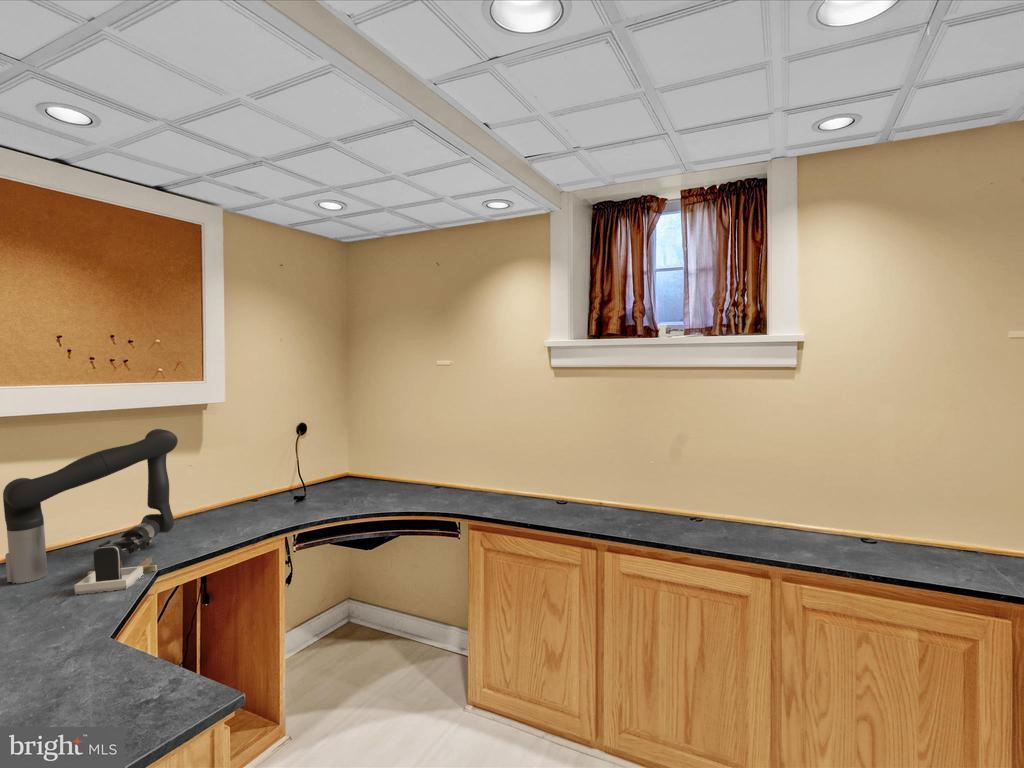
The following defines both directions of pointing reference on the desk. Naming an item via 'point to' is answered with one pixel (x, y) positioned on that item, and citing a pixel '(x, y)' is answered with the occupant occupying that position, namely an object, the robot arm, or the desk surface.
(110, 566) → the battery charger
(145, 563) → the dock
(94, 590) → the tray
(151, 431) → the robot arm
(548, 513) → the desk surface
